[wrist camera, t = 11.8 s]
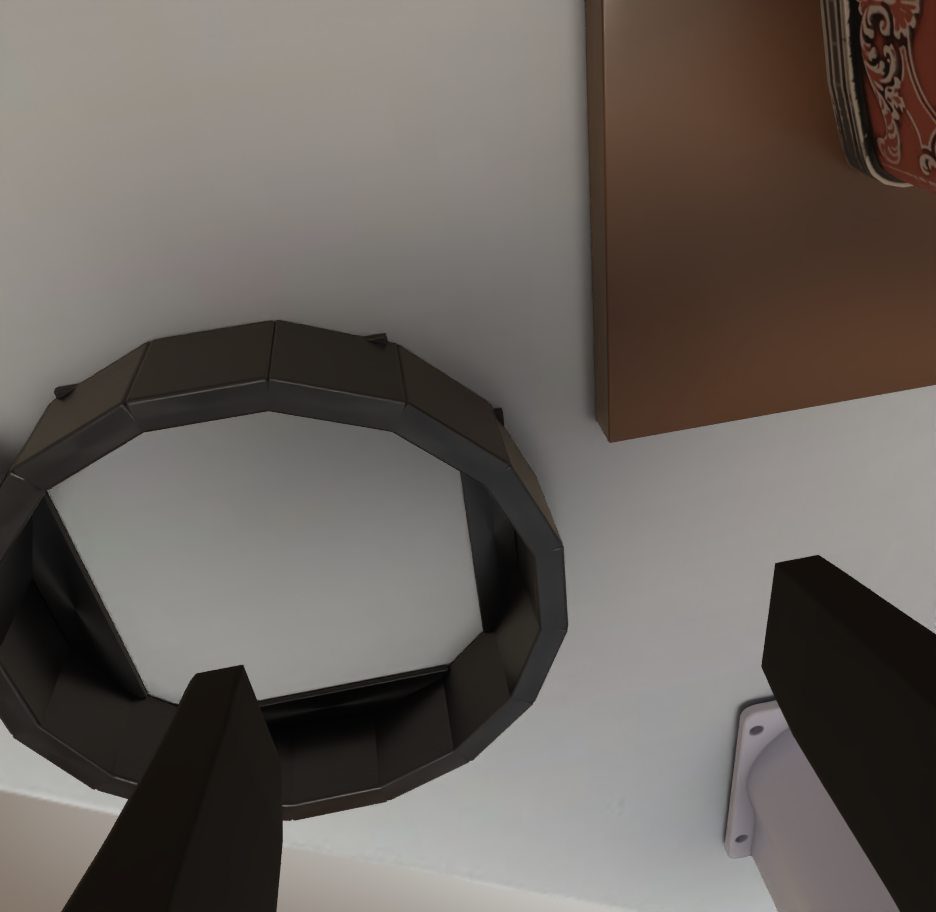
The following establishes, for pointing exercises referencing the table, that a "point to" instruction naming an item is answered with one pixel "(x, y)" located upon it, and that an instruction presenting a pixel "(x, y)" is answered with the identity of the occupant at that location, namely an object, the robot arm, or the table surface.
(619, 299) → the board
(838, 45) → the lighter
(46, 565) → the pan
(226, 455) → the table surface
